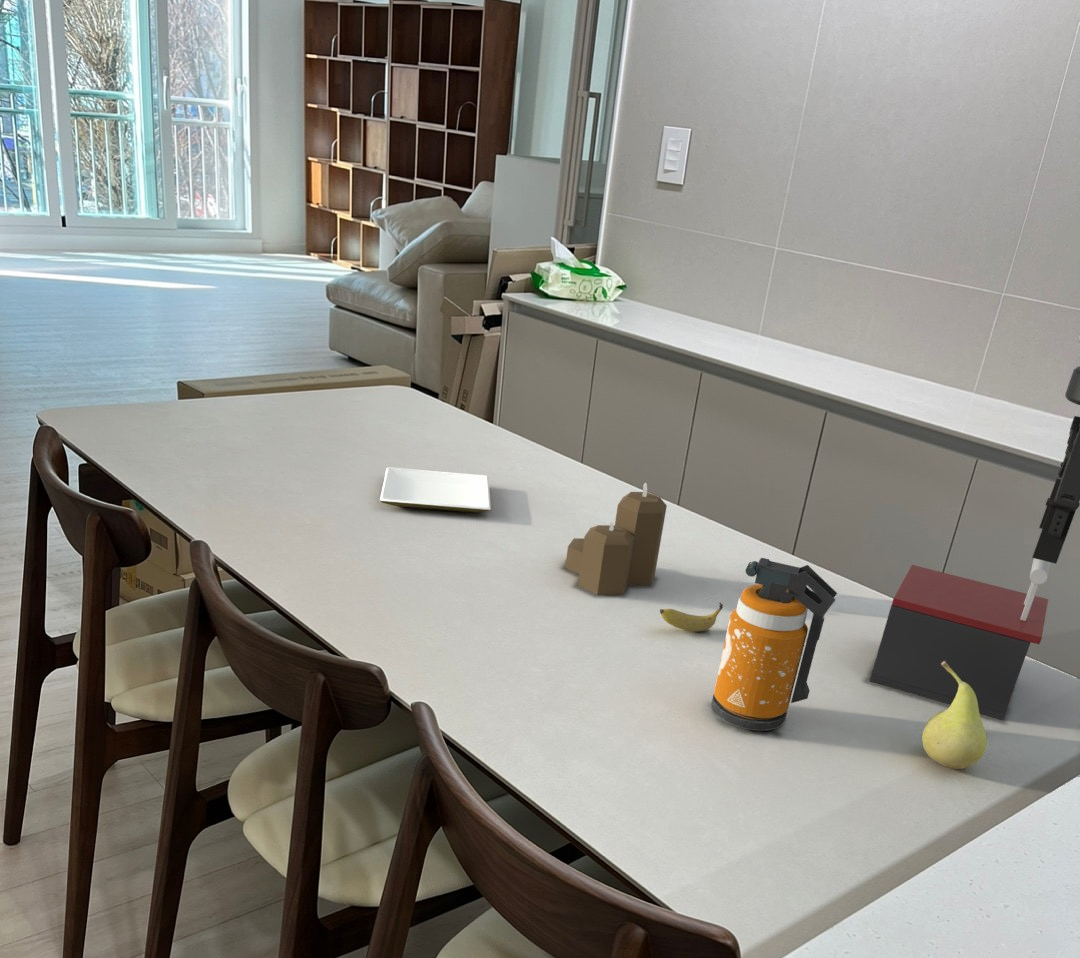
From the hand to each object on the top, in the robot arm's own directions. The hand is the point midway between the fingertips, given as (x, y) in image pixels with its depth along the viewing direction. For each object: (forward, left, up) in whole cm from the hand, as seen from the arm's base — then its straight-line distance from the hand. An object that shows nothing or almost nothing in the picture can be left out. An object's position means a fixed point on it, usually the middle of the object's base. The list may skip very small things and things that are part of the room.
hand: (1047, 544), depth 132 cm
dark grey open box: (+7, +1, -21) cm, 22 cm away
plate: (+98, 0, -21) cm, 100 cm away
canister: (+21, +31, -21) cm, 43 cm away
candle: (+57, +6, -21) cm, 61 cm away
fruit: (0, +24, -21) cm, 32 cm away
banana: (+39, +15, -21) cm, 47 cm away
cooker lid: (+6, +1, -10) cm, 12 cm away
